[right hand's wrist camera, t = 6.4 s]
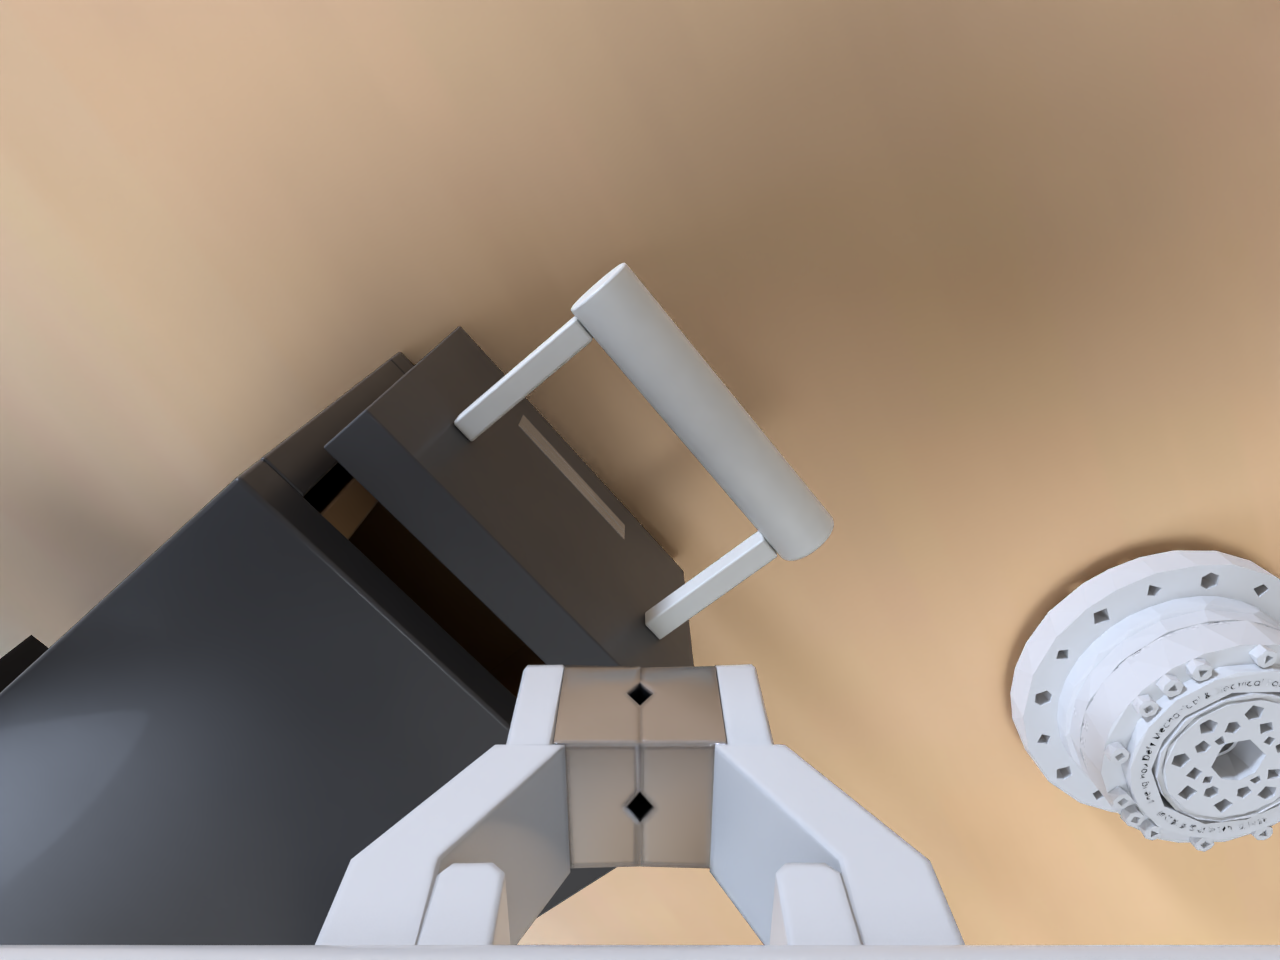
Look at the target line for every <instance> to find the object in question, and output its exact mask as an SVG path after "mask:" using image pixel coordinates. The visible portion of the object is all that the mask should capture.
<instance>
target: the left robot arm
mask: <svg viewBox="0 0 1280 960" xmlns="http://www.w3.org/2000/svg"><path fill="white" fill-rule="evenodd" d="M48 649H49V648H48V647H46V646H45V645H44V644H42V643H41V642H40V641H39V640H37V639H36V638H35V637H33V636H32V635H31V636H29V637H28V638H27V639H25V640H24V641H23V642H22V643H20V644H19V645H18V646H16V647H15V648H14V649H12V650H11V651H10V652H9V653H7V654H6V655H5V656H3V657H2V658H1V659H0V693H1V692H2V691H3V690H4V689H5V688H6V687H7V686H8V685H9V684H10V683H12V682H13V681H14V680H15V679H16V678H17V677H18V676H19V675H20V674H21V673H23V672H24V671H25V670H26V669H27V668H28V667H29V666H30V665H31V664H32V663H33V662H35V661H36V660H37V659H38V658H39V657H40V656H41V655H42V654H43V653H44V652H46V651H47V650H48Z"/></svg>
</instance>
